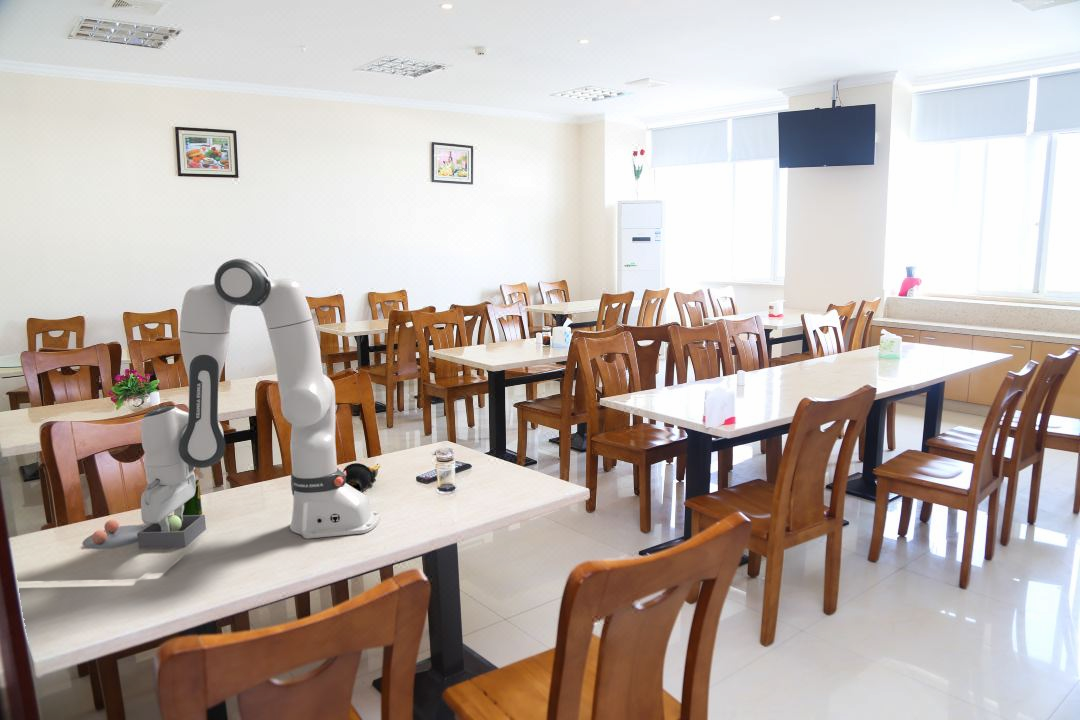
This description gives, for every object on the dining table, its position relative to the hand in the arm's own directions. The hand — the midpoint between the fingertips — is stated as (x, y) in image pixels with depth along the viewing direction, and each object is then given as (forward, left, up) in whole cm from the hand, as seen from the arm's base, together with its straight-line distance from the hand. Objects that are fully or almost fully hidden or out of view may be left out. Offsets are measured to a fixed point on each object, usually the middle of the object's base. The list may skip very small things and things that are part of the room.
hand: (172, 527), depth 186 cm
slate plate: (+15, -2, -4) cm, 16 cm away
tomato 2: (+18, -5, -3) cm, 19 cm away
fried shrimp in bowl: (-38, -41, -4) cm, 56 cm away
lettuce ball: (0, 0, -1) cm, 1 cm away
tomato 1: (+17, +2, -3) cm, 17 cm away
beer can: (+3, -16, -4) cm, 17 cm away
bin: (0, 0, -4) cm, 4 cm away
